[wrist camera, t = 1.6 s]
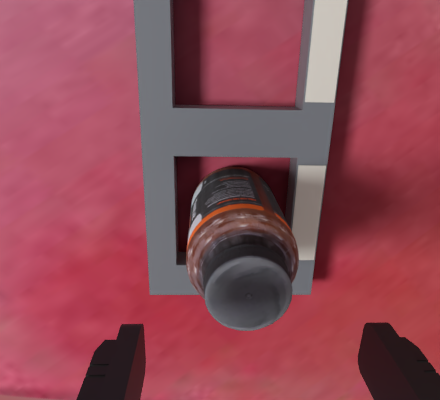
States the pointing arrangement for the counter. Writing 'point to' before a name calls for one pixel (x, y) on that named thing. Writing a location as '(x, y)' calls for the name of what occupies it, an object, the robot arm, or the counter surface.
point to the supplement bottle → (240, 250)
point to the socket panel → (235, 136)
